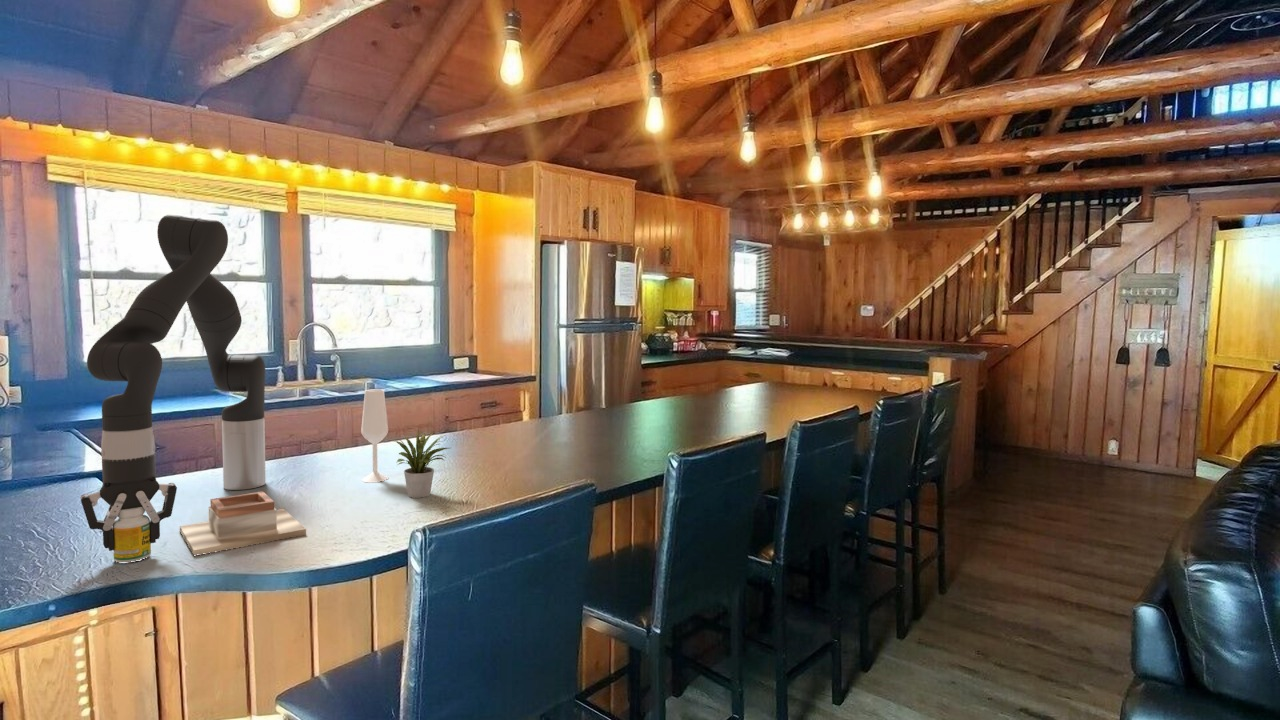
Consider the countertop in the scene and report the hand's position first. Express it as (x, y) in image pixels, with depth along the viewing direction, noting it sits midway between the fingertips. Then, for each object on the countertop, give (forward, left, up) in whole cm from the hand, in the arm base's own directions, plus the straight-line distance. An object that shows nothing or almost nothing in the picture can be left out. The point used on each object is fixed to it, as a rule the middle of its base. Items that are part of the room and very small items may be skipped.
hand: (132, 545), depth 119 cm
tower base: (-3, +18, -2) cm, 18 cm away
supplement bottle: (0, 0, -3) cm, 3 cm away
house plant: (-7, +56, -3) cm, 56 cm away
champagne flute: (-29, +54, -3) cm, 61 cm away
